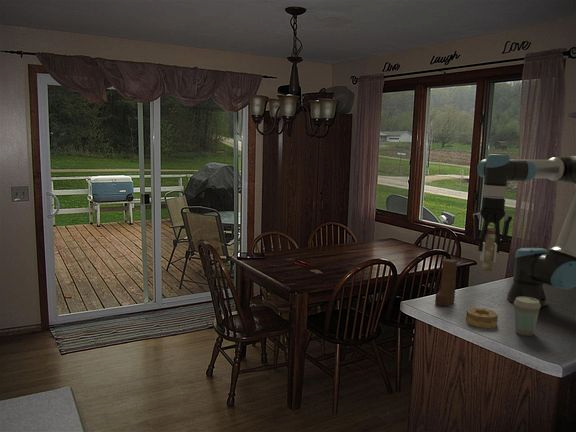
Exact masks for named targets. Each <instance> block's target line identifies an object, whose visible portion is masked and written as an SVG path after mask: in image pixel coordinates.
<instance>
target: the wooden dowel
mask: <svg viewBox="0 0 576 432" xmlns="http://www.w3.org/2000/svg"><path fill="white" fill-rule="evenodd" d="M495 234H496V228H495V227H493V226H488V228H487V232H486V235H485V239H484V243H485V254H484V261H482V263H481V270H482V271H483V272H492V271H493V263H494V262H493V254H494V244H495V243H496V241H495Z"/></svg>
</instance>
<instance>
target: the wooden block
mask: <svg viewBox="0 0 576 432" xmlns="http://www.w3.org/2000/svg"><path fill="white" fill-rule="evenodd" d="M441 267H442V269H441V282H440V289H439V290H438V292H437V293H435V301H434V304H435V305H436V306H440V307H443V308H445V307H448V306H450V305H451V304H454V303H455V297H456V284H457V283H456V281H457V269H458V268H457V267H458V261H457V259H456V260H455V259H450V258H447V259H444V260H442V266H441Z"/></svg>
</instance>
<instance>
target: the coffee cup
mask: <svg viewBox="0 0 576 432" xmlns="http://www.w3.org/2000/svg"><path fill="white" fill-rule="evenodd" d="M513 305H514V322H515V323H514V324H515V330H514V331H515V333H517V334H519V335H522V336H526V337H527V336H534V334H535V330H536V327H537V326H536V325H537V320H538V317H539V313H540V309H541V308H542V307H541V305H540V302H539V300H537V299H534V298H531V297H517V298H516V299H515V301H514V303H513Z"/></svg>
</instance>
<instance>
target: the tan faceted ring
mask: <svg viewBox="0 0 576 432" xmlns="http://www.w3.org/2000/svg"><path fill="white" fill-rule="evenodd" d="M472 307H473V306H472ZM465 315H466V316H465V320H466V322H467V323H468V325H470V326H471V325H472V326H473V327H474V326H475V327H477V328H487V329H491V328H495V327H497V325H498V319H499V318H498V314H497V312H496V311H495V310H492V309H489V308H484V307H473V308H470V307H469V308H467V309H466V314H465ZM494 326H495V327H494Z"/></svg>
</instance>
